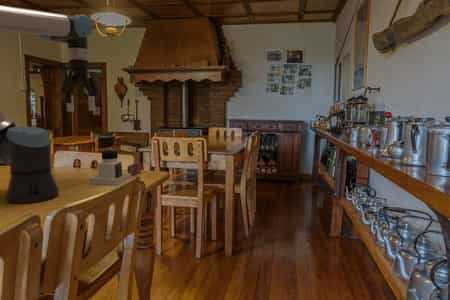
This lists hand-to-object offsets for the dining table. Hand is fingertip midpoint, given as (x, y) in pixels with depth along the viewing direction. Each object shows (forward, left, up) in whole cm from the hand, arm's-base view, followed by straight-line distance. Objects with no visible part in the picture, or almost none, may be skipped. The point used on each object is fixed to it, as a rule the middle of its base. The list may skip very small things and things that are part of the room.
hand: (81, 111), depth 138 cm
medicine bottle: (-6, -16, -28) cm, 33 cm away
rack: (+7, -14, -28) cm, 32 cm away
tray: (-6, -16, -28) cm, 33 cm away
